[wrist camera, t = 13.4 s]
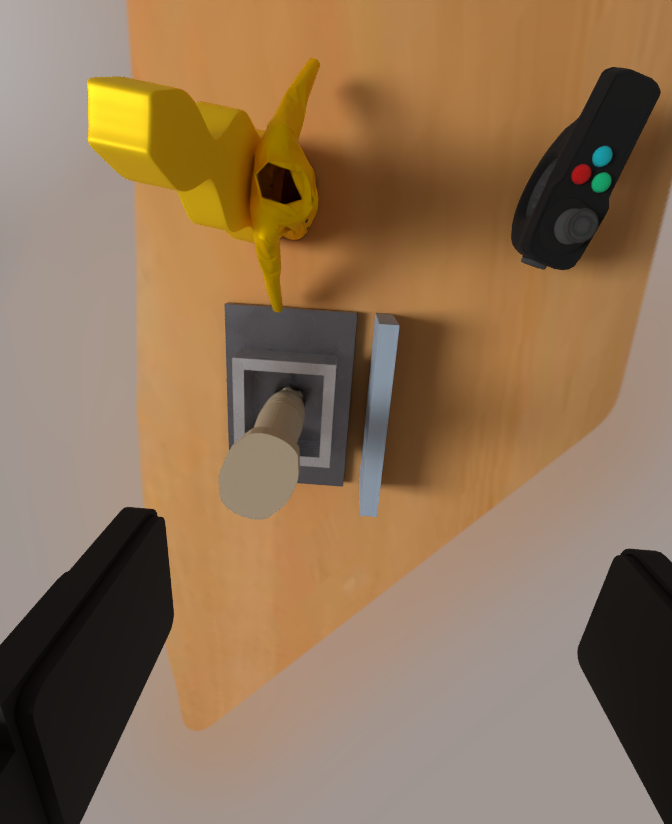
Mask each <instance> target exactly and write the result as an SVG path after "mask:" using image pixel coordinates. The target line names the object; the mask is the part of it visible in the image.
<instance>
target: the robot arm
mask: <svg viewBox="0 0 672 824" xmlns="http://www.w3.org/2000/svg"><path fill="white" fill-rule="evenodd" d="M173 618H174V609H173V599H172V588H171V578H170V567H169V557H168V546H167V536H166V526H165V520H164V518H163V517H158V516H157V512H156V511H155V510H154V509H146V508H134V507H126V508H124V509H122V510H121V511H120V512H119V514H118V515H117V516H116V517H115V518H114V519H113V521H112V522H111V523H110V524H109V525H108V526H107V528H106V529H105V530H104V531H103V532H102V533H101V534H100V536H99V537H98V538H97V539H96V540H95V541H94V543H93V544H92V545H91V546H90V547H89V548H88V549H87V551H86V552H85V553H84V554H83V555H82V556H81V558H80V559H79V560H78V561H77V562H76V563H75V565H74V566H73V567H72V568H71V569H70V570H69V571H68V572H66V573H64V574H63V575H62V576H61V577H60V578H59V579H57V581H56V582H55V583H54V584H53V585H52V586H51V587H50V589H49V590H48V591H47V592H46V593H45V594H44V595H43V597H42V598H41V599H40V600H39V601H38V602H37V603H36V605H35V606H34V607H33V608H32V609H31V610H30V611H29V613H28V614H27V615H26V616H25V617H24V619H23V620H22V621H21V622H20V623H19V624H18V626H16V628H15V629H14V630H13V631H12V632H11V633H10V634H9V636H8V637H7V638H6V639H5V640H4V642H2V644H1V645H0V824H80V822H81V820H82V818H83V816H84V814H85V812H86V810H87V808H88V805H89V803H90V801H91V799H92V797H93V795H94V793H95V791H96V788H97V786H98V784H99V782H100V780H101V778H102V776H103V774H104V771H105V769H106V767H107V765H108V763H109V761H110V759H111V756H112V754H113V752H114V750H115V748H116V746H117V744H118V741H119V739H120V737H121V735H122V733H123V731H124V729H125V726H126V724H127V722H128V720H129V718H130V716H131V714H132V712H133V709H134V707H135V705H136V703H137V701H138V699H139V696H140V695H141V692H142V690H143V688H144V686H145V684H146V682H147V680H148V677H149V675H150V673H151V671H152V669H153V667H154V665H155V663H156V660H157V658H158V656H159V654H160V652H161V650H162V648H163V645H164V643H165V641H166V639H167V637H168V635H169V633H170V630H171V627H172V624H173ZM578 660H579V664H580V666H581V668H582V670H583V672H584V674H585V676H586V678H587V680H588V682H589V683H590V685H591V687H592V689H593V691H594V693H595V695H596V697H597V699H598V700H599V702H600V704H601V706H602V708H603V710H604V712H605V714H606V715H607V717H608V719H609V721H610V723H611V725H612V726H613V728H614V730H615V732H616V734H617V736H618V738H619V740H620V742H621V744H622V745H623V747H624V749H625V751H626V753H627V755H628V757H629V759H630V760H631V762H632V764H633V766H634V768H635V770H636V772H637V773H638V775H639V777H640V779H641V781H642V783H643V785H644V787H645V788H646V790H647V792H648V794H649V796H650V798H651V800H652V801H653V803H654V805H655V807H656V809H657V811H658V813H659V815H660V816H661V818H662V820H663V822H664V824H672V562H671V561H670V560H669V559H668V558H667V557H666V556H665V555H663V554H662V553H661V552H657V551H651V550H639V549H625V550H624V551H623V552H622V553H621V555H618V556H616V557H615V558H614V559H613V561H612V564H611V566H610V569H609V571H608V574H607V576H606V579H605V581H604V584H603V586H602V589H601V591H600V594H599V596H598V599H597V601H596V604H595V606H594V609H593V611H592V614H591V616H590V619H589V621H588V624H587V626H586V629H585V631H584V634H583V636H582V639H581V641H580V644H579V646H578Z"/></svg>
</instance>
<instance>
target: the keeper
mask: <svg viewBox="0 0 672 824" xmlns="http://www.w3.org/2000/svg"><path fill="white" fill-rule="evenodd" d="M356 322H357V312H353V311H339V310H325V309H311V308H297V307H283V310H282V312H275V311H273V308H272V306H269V305H255V304H241V303H226V304H225V331H226V365H227V399H228V433H229V450H230V449H231V447H232V445H233V444H234V443H235V442H236V441H237V440H238V439H240V438H241V437H242V436H243V435H244V434H245V433H247V432H248V431H249V430H251V429H252V428H254V426H255V423H256V420H257V418H258V415H259V413H260V411H261V410H262V408H263V406H264V405H265V404H266V402H267V401H268V400H269V398H270V397H271V396H272V395H273V394H274V393H277V392H279V391H281V390H282V389H283V388H284V387H285V386H290V387H291V388H292V389H293V390H296V391H300V392H301V393H302V395H303V397H302V400H303V403H304V407H305V417H304V423H303V428H302V431H301V434H300V436H299V439H298V441H297V445H298V446H299V453H300V473H299V478H298V481H297V483H304V484H317V485H330V486H343V480H344V468H345V456H346V444H347V432H348V420H349V407H350V395H351V383H352V371H353V359H354V347H355V334H356Z"/></svg>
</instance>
